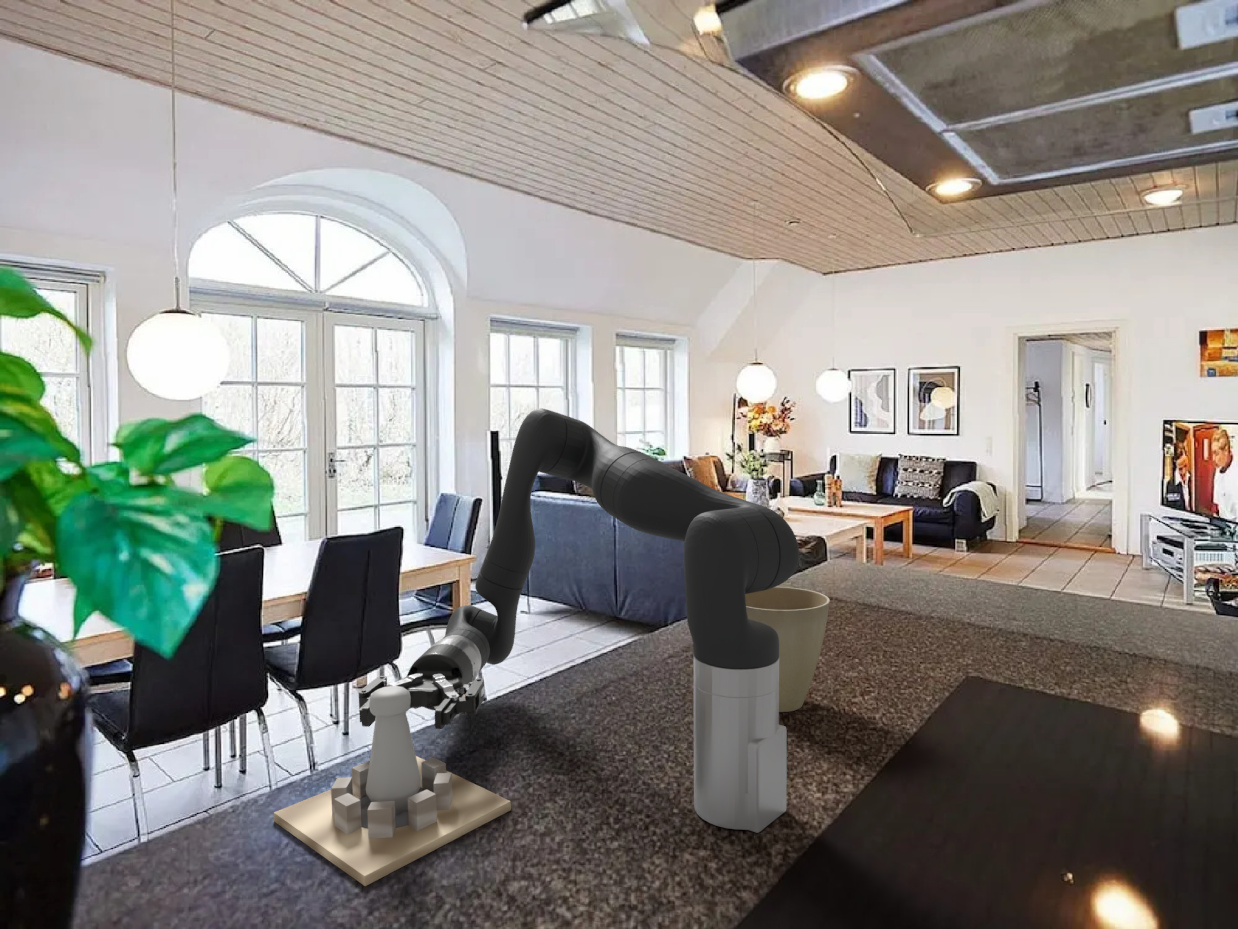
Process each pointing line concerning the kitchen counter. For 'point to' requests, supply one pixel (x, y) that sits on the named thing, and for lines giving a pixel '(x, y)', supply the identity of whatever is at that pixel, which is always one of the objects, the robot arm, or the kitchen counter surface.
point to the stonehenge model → (389, 820)
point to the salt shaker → (392, 750)
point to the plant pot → (792, 636)
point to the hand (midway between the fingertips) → (401, 719)
